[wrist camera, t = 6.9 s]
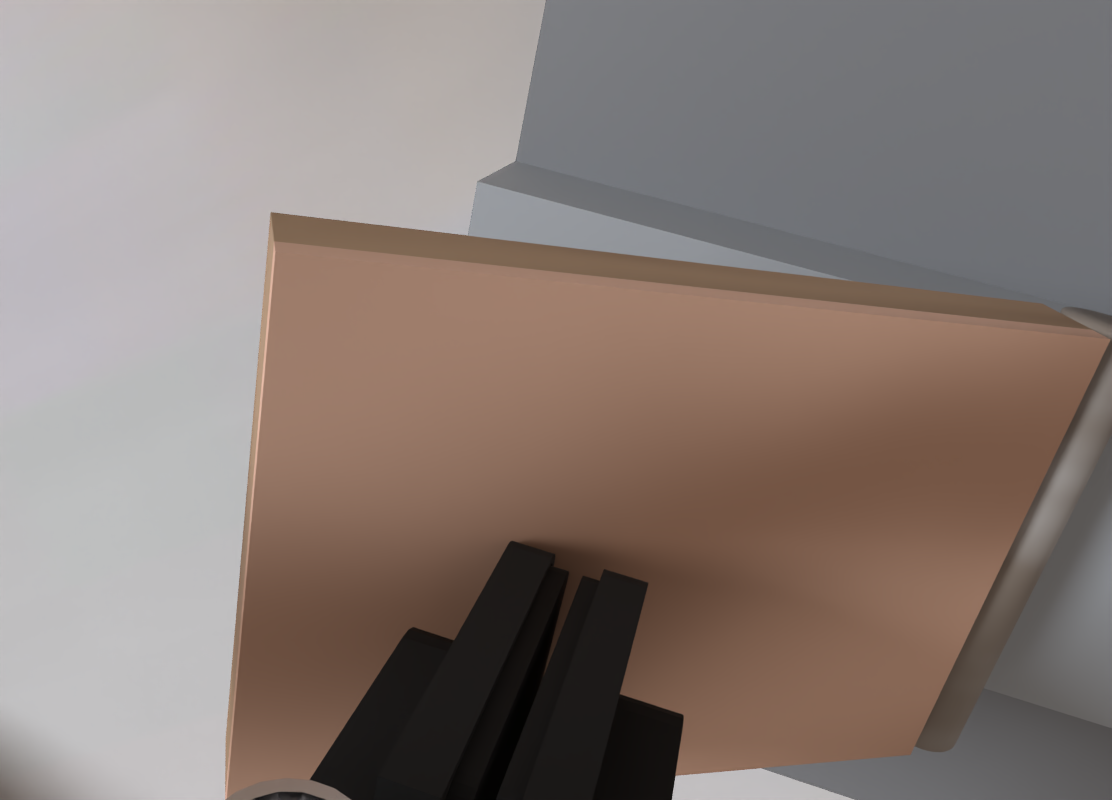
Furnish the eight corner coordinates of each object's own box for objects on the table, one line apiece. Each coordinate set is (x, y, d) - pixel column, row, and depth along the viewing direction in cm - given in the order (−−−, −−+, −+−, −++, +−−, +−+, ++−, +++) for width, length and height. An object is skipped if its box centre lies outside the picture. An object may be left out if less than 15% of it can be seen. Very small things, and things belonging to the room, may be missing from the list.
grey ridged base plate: (589, -154, 16) (542, -191, 13) (2048, 158, 13) (2405, 200, 10) (437, 628, 22) (383, 721, 19) (1384, 941, 20) (1486, 1102, 17)
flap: (1179, 346, 12) (1108, 311, 13) (275, 251, 9) (270, 212, 10) (972, 749, 15) (925, 695, 16) (225, 815, 11) (225, 738, 12)
